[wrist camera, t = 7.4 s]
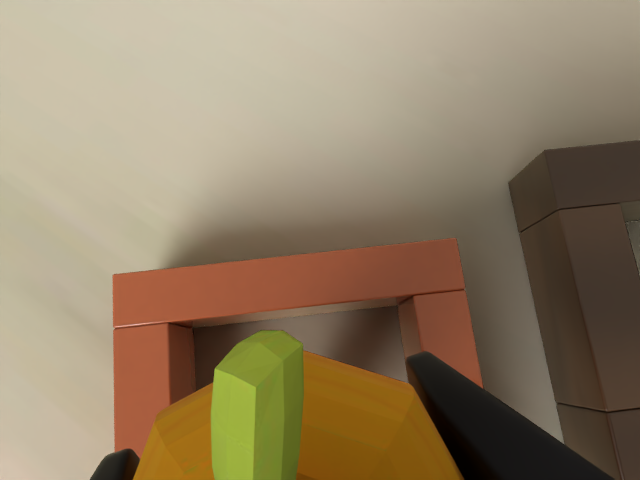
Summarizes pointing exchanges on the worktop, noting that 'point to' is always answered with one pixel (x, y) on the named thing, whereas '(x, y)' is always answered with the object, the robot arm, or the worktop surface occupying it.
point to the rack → (587, 293)
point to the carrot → (295, 423)
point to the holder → (277, 314)
